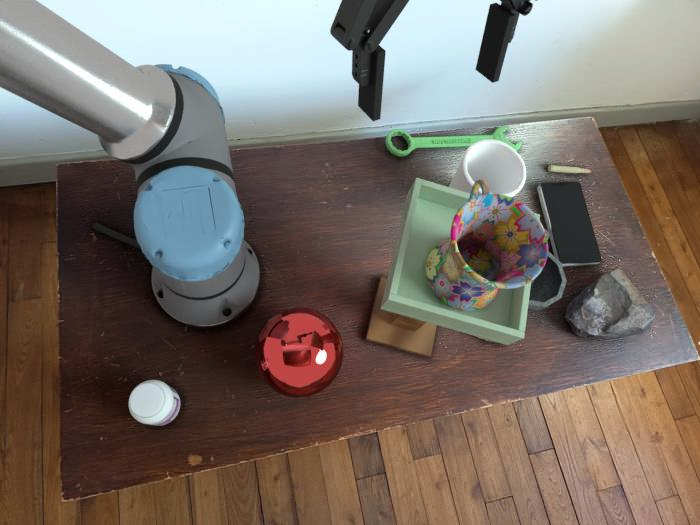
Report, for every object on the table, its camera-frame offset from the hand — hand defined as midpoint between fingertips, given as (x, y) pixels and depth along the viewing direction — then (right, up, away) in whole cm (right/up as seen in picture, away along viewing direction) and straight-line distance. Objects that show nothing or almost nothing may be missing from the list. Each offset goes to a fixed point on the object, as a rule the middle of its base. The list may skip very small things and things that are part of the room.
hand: (430, 93), depth 51 cm
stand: (+1, -24, +31) cm, 40 cm away
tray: (+4, -16, +9) cm, 19 cm away
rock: (+34, -27, +37) cm, 57 cm away
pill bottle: (-33, -36, +22) cm, 54 cm away
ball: (-15, -30, +27) cm, 43 cm away
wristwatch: (+14, -27, +33) cm, 45 cm away
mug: (+4, -16, +8) cm, 19 cm away
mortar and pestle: (+19, -20, +36) cm, 45 cm away
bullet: (+27, +1, +44) cm, 52 cm away
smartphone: (+30, -10, +41) cm, 52 cm away
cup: (+12, -6, +39) cm, 42 cm away
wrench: (+10, +8, +43) cm, 45 cm away
